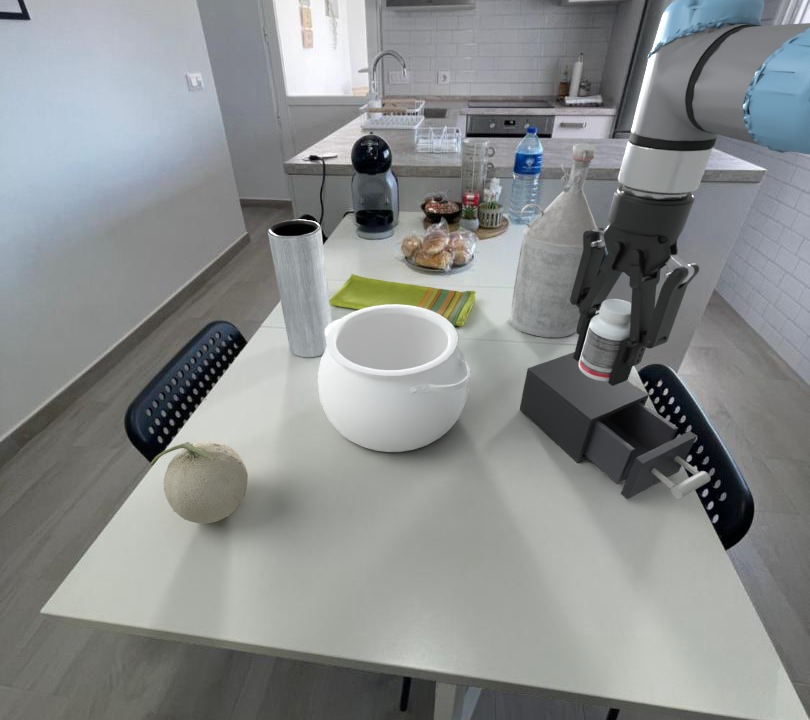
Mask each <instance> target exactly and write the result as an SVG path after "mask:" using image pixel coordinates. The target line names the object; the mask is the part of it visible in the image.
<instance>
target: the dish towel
mask: <svg viewBox="0 0 810 720" xmlns="http://www.w3.org/2000/svg"><path fill="white" fill-rule="evenodd" d="M476 292H477V291H476V290H465V291H460V290H459V291H458V290H453V289H450V290H449V289H445V288H438V287H432V286H425V285H420V284H419V285H418V284H413V283H403V282H396V281H389V280H382V279H376V278H370V277H364V276H361V275H357V274H353V273H351V274H350V277H349V278H348V279H347V280H346V281H345V282H344V283H343V285H342V286H341V287H340V288H339V289H338V290H337V291H336V292H335V293H333V295H332V296H331V297H330V298H329V300H330V306H334V307H340V308H348V309H352V310H357V311H358V310H361V309H364V308H368V307H373V306H379V305H396V304H398V305H410V306H416V307H421V308H424V309H428V310H431V311H433V312H435V313H437V314H439V315H441V316H443V317H444V318H446V319H447V320H448V321H449V322H450V323H451V324H452V325H453V326H454V327H456V326H457V327H460V328H462V327H463V326H464V325H465V323H466V321H467V319H468V317H469V315H470V312H471V310H472V309H473V306H474V304H475V302H476Z"/></svg>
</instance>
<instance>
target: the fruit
mask: <svg viewBox="0 0 810 720" xmlns="http://www.w3.org/2000/svg"><path fill="white" fill-rule="evenodd" d="M180 449H181V450H180ZM176 450H180V451H179V452H177V453H176V454H175V455H174V456H173V457H172V459H171V460H170V462H169V463H168V465H167V468H166V470H165V473H164V477H163V492H164V496H165V498H166V501H167V503H168V504H169V506H170V508H171V509H172V510H173V512H174V513H176V514H177V515H178V517H180V518H182V519H183V520H185V521H188V522H191V523H195V524H210V523H216V522H218V521H221V520H223V519H225V518H227V517H229V516H230V515H231V514H233V513H234V512H235V510H237V509H238V507H240V504H241V503H242V501H243V500H244V498H245V496H246V492H247V489H248V488H247V487H248V479H249V478H248V475H249V474H248V470H247V467H246V466H245V465H246V464H245V463H244V460H242V458H241V456H240V455H239V454H238V453H237V452H236V451H235V450H234V449H233V448H232V447H231V446H229V445H227V444H225V443H222V442H219V441H199V442H196V443H192V442H191V441H187V442H184V443H180V444H177V445H174V446H172V447H170V448H167V449H165V450H163V451H161V452H160V453H158V454H157V455H156V456H154V458H153V459H152V461H151V462H150V464H149V465H150V467H152V466H153V465H154V463H156V461H158V459H160V458H161V457H163V456H164V455H166V454H169V453H170V452H173V451H176Z"/></svg>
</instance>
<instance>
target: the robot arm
mask: <svg viewBox="0 0 810 720" xmlns="http://www.w3.org/2000/svg"><path fill="white" fill-rule="evenodd" d="M764 9H765V1H764V0H674V1H672V2H671V3H670V4H668V6H667V7H666V8H665V10H664V11H663V12H662V13H663V14H662V15H661V19H660V22H659V25H658V29H657V32H656V35H655V39H654V42H653V46H652V48H651V49H650V51H649V54H648V55H647V65H646V67H645V72H644V76H643V81H642V84H641V88H640V92H639V96H638V100H637V105H636V108H635V113H634V117H633V121H632V125H631V129H630V134H629V138H628V140H627V143H626V147H625V151H624V154H623V158H622V162H621V165H620V169H619V173H618V176H617V181H618V183H619V184H620V186H618V187H617V188H616V189H615V190H614V194H613V196H612V197H613V198H612V201H611V205H610V209H609V212H608V216H607V221H608V222H609V224H608V225H607V226H606V228H604V227H597V229H593V230H589V231H585V232H584V234H583V253H582V256H581V260H580V264H579V268H578V271H577V275H576V279H575V282H574V286H573V290H572V293H571V297H570V302H571V304H572V305H577V307H578V308H579V312H580V317H579V321H578V326H577V329H576V334H577V335H578V338H577V342H576V344H575V349H574V352H575V353H574V356H573V359H575V360H576V361H579V360H580V356H581V353H582V350H583V346H584V342H585V339H586V335H587V331H588V328H589V324H590V321H591V319H592V318H593V317H594V316H596V315H598V314H599V310H600V307H601V304H602V302H603V301H605V300H607V299H608V296H609V295H610V293H611V291H612V290H613V288H614V286H615V285H616V283H617V282H618V280H619V278H620V277H621V275H622V274H623V273H624V274H625V275H626V276H627V277H628V278H629V281H628V282H629V283H628V284H629V288H631V302H630V303H631V318H630V336H629V338H627V339H625V340H622V342H621V345H620V348H619V351H618V354H617V357H616V360H615V363H614V366H613V369H612V372H611V375H610V378H609V381H608V383H609V384H610V385H612V386H614V385H617V384H619V383H621V382H624V381H626V380H628V381H629V378H630V375H631V372H632V369H633V367H635V366H637V365H639V364H640V363H641V362H642V361H643V357H644V355H645V352H646V349H649V350H650V349H653V348H655V347H659V346H662V345H663V344H665V343H667V342H668V340H669V338H670V335H671V333H672V329H673V327H674V324H675V322H676V319H677V316H678V313H679V310H680V308H681V305H682V302H683V299H684V296H685V293H686V291H687V288H688V285H689V284H690V283H691V282H692V281H693V279H694V278H695V277H696V276H697V275H698V274H699V272H700V266H699V265H698V264H697V263H694V262H693V263H690V264H688V263H687V262H686V261H685V260H684V259H683V258H681V257H680V256H679V255H678V254H679V253H678V252H679V249H678V240H679V237H680V236H681V234H682V232H683V231H684V229H685V227H686V224H687V222H688V218H689V216H690V213H691V210H692V207H693V205H694V202H695V197H694V194H693V193H694V192H695V191H697V190H698V189H699V187H700V184H701V182H702V179H703V177H704V174H705V171H706V168H707V166H708V163H709V160H710V158H711V155H712V152H713V149H714V147H715V145H716V143H717V139H718V136H722V137H726V138H729V139H734V140H738V141H742V142H745V143H750V144H754V145H757V146H761V147H763V148H768V150H769V151H772V152H777V153H781V154H784V153H791V152H792V153H796V154H797V153H798V154H802V155H803V154H804V155H809V156H810V22H805V23H803V22H802V23H788V24H771V25H762V23H761V20H762V16H763V12H764ZM605 249H606V250H605ZM605 251H607V253H606V256H605V258H604V259H603V257H604V254H605ZM602 260H603V261H602ZM665 266H666V272H665V273H664V275H663V278H664V279H665V280H664V282H663V284H662V286H661V288H660V290H659V295H658V297H656V295H657V286H658V284H659V283H660V280H661V270H662V269H663V268H664V267H665ZM599 270H600V271H599ZM656 298H657V300H656Z"/></svg>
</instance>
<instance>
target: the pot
mask: <svg viewBox="0 0 810 720" xmlns="http://www.w3.org/2000/svg"><path fill="white" fill-rule="evenodd" d="M457 331H458V330H457V329H456V328H455V326H453V325H452V324H451V323H450V322H449V321H448V320H447V319H446V318H444V317H443V316H441V315H439V314H437V313H435V312H433V311H431V310H428V309H424V308H421V307H416V306H410V305H398V304H396V305H379V306H373V307H368V308H364V309H361V310H358V309H357V310H355V311H352V312H350V313H348V314H346V315H344V316H342V317H341V318H338V319H335V320H332V323H330V324H329V325H328V326H327V327H326V328H325V330H324V333H325V339H326V344H327V347H326V348H325V352H324V354H323V355H321V358H320V361H319V365H318V366H319V367H318V372H317V389H318V390H317V391H318V398H319V401H320V405H321V408H322V410H323V412H324V414H325V416H326V418H327V420H328V421H329V423H330V424H331V425H332V426H333V427H334V428H335V430H336V431H337V432H338V433H339V434H340V435H341V436H342V437H344V438H345V439H347V440H348V441H349V442H351V443H354V444H356V445H358V446H360V447H363V448H365V449H369V450H373V451H377V452H384V453H402V452H409V451H414V450H417V449H419V448H423V447H425V446H428V445H430V444H432V443H433V442H435V441H437V440H440V439H441V438H442V437H443V436H445V434H447V433H448V432H449V431H450V430H451V428H452V427H453V426H454V425H455V423H456V422H457V421H458V420H459V418H460V417H461V414H462V413H463V410H464V407H465V406H466V402H467V399H468V394H469V382H470V381H469V380H470V377H471V367H470V365H469V363H468V361H466V358H465V354H464V352H463V351H462V349H461V347H460V345H459V344H458V342H459V336H458V332H457Z"/></svg>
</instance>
